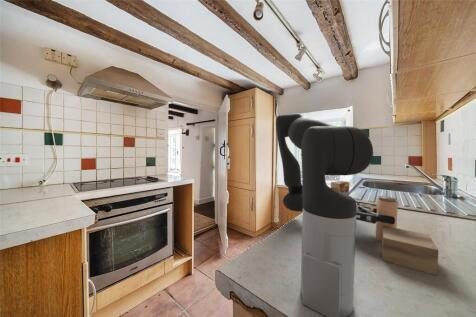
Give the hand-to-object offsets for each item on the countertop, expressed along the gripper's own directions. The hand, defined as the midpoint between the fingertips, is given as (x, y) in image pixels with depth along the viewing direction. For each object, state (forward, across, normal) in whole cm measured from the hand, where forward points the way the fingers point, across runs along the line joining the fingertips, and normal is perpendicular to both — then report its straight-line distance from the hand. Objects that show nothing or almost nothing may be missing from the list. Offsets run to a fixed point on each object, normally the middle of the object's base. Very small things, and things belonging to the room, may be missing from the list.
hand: (393, 216), depth 58 cm
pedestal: (+2, -10, +8) cm, 13 cm away
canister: (-2, 0, +8) cm, 8 cm away
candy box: (-18, +16, +8) cm, 25 cm away
